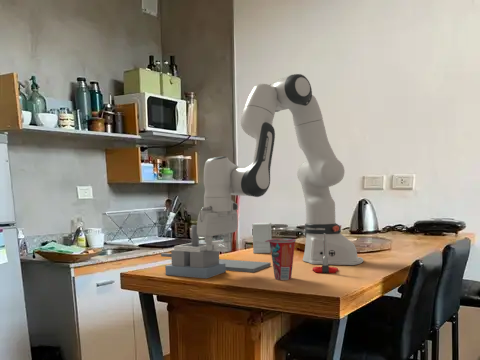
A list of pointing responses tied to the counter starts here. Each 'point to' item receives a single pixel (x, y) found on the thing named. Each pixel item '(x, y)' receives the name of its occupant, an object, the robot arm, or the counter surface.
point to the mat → (244, 265)
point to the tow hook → (325, 261)
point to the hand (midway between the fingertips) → (218, 248)
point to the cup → (282, 257)
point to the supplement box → (261, 237)
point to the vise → (194, 261)
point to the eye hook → (205, 247)
